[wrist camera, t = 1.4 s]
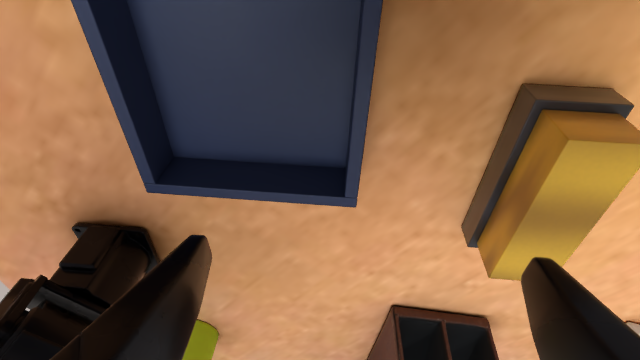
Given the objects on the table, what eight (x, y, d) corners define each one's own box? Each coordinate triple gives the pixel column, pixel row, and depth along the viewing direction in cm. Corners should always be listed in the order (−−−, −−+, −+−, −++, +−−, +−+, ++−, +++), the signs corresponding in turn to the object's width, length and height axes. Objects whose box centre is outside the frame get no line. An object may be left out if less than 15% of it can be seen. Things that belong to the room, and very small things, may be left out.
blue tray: (356, 173, 25) (356, 207, 22) (168, 160, 25) (146, 192, 22) (403, -223, 13) (416, -253, 10) (45, -230, 13) (-34, -261, 11)
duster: (525, 232, 27) (554, 288, 23) (460, 227, 27) (478, 282, 23) (613, 88, 19) (677, 136, 15) (521, 83, 20) (562, 129, 16)
